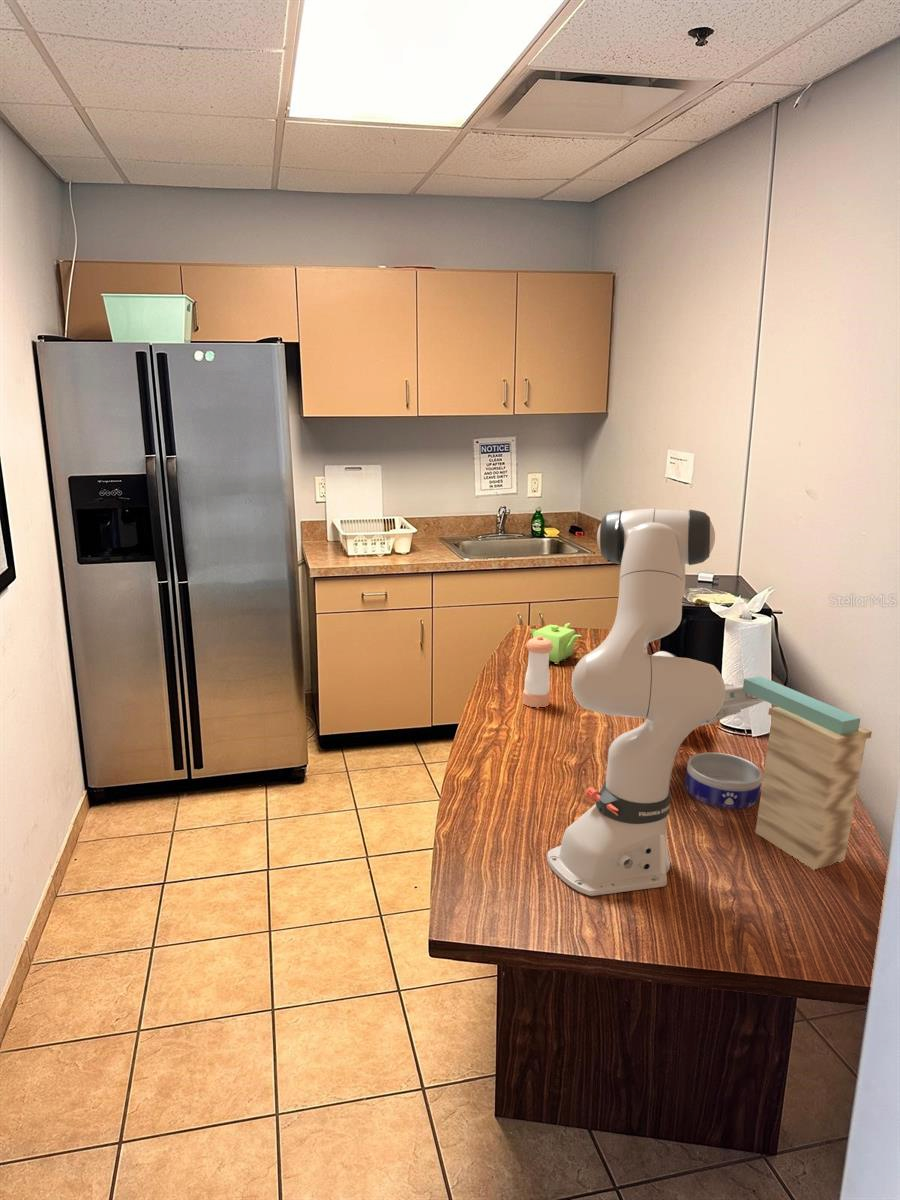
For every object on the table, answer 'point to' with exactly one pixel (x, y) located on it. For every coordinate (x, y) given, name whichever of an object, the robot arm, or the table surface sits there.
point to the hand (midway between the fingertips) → (749, 692)
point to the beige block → (809, 788)
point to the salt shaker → (537, 673)
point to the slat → (802, 705)
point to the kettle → (558, 640)
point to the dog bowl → (723, 780)
